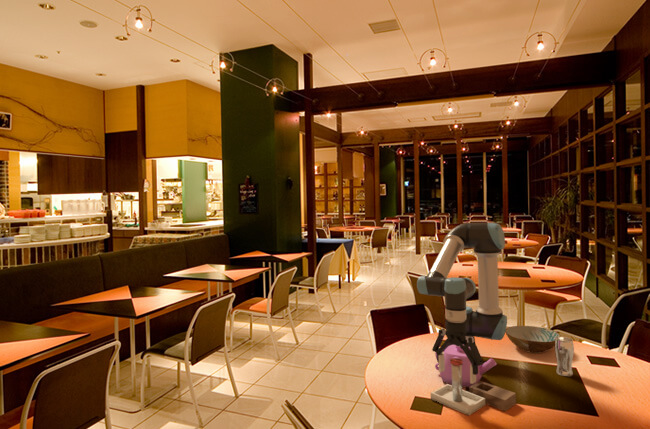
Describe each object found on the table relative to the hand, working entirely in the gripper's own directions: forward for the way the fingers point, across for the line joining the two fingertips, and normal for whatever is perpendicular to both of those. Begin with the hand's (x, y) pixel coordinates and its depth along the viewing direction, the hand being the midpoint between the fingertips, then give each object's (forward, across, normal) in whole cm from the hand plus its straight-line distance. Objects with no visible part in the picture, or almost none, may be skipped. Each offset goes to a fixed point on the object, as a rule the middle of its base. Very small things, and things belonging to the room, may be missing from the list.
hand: (457, 376), depth 150 cm
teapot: (+10, -9, +20) cm, 24 cm away
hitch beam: (+10, +8, +10) cm, 16 cm away
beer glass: (+10, +16, +55) cm, 58 cm away
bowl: (+10, -5, +74) cm, 75 cm away
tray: (+10, 0, 0) cm, 10 cm away
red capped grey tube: (+9, 0, 0) cm, 9 cm away
